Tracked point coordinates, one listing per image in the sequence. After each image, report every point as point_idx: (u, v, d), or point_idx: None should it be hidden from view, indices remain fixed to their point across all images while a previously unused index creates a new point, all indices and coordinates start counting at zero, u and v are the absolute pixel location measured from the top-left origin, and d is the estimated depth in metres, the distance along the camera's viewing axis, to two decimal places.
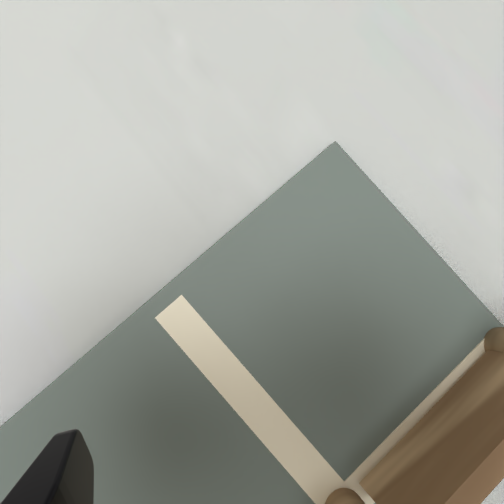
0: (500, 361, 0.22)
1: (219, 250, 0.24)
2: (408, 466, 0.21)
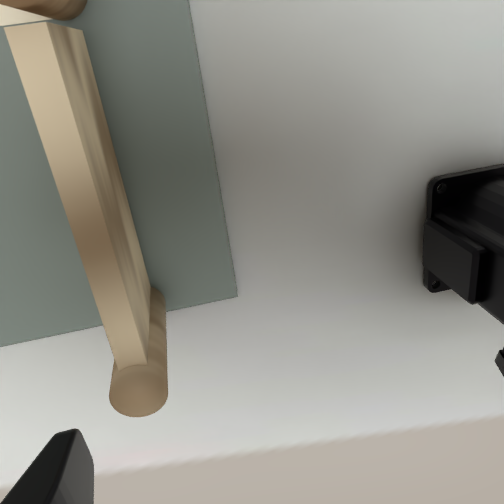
0: None
1: None
2: None
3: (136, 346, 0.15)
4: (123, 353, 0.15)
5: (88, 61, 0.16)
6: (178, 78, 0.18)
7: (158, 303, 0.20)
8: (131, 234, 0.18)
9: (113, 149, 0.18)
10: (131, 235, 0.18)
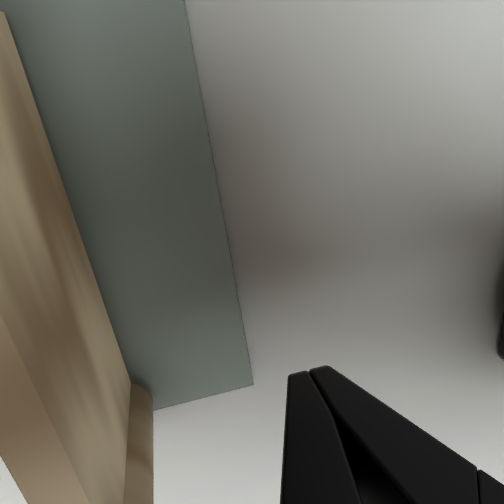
0: None
1: None
2: None
3: None
4: None
5: (14, 63, 0.10)
6: (164, 87, 0.11)
7: (142, 414, 0.14)
8: (96, 326, 0.12)
9: (66, 197, 0.12)
10: (96, 328, 0.12)
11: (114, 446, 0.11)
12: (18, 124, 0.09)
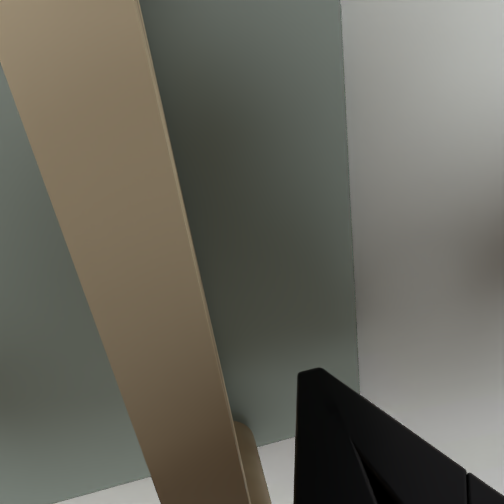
0: None
1: None
2: None
3: None
4: None
5: None
6: (304, 78, 0.10)
7: (253, 459, 0.12)
8: None
9: None
10: (220, 365, 0.10)
11: None
12: (165, 123, 0.07)
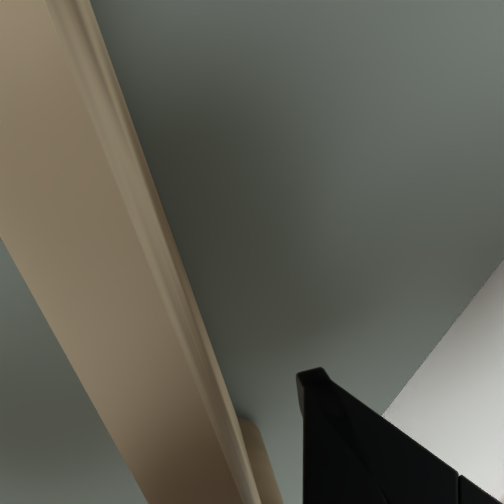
0: None
1: None
2: None
3: None
4: None
5: (107, 55, 0.08)
6: None
7: (260, 454, 0.12)
8: (215, 364, 0.10)
9: (165, 215, 0.10)
10: (215, 366, 0.10)
11: None
12: (129, 130, 0.07)
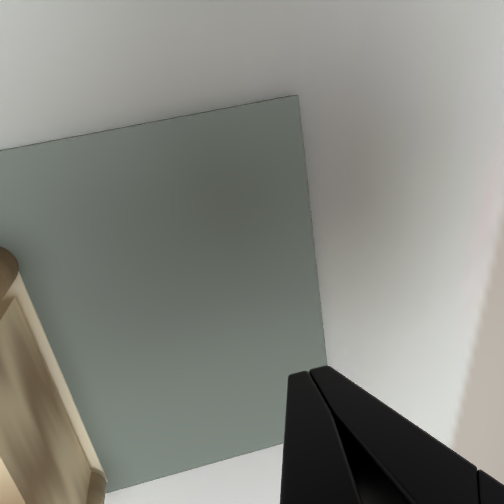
0: None
1: None
2: None
3: None
4: None
5: (20, 323, 0.19)
6: (48, 166, 0.18)
7: (96, 493, 0.23)
8: (65, 449, 0.21)
9: (48, 377, 0.21)
10: (65, 450, 0.21)
11: None
12: (21, 362, 0.18)
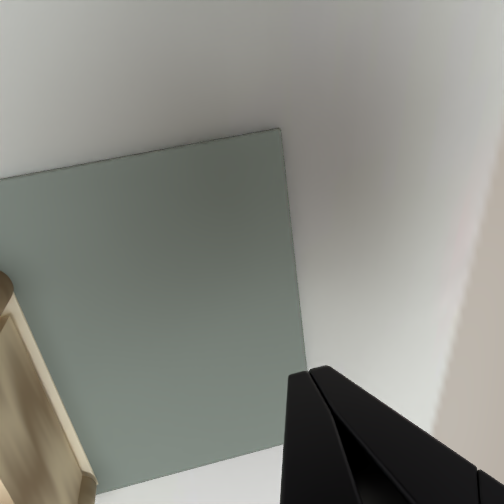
0: None
1: None
2: None
3: None
4: None
5: (14, 341, 0.20)
6: (41, 195, 0.19)
7: (87, 496, 0.24)
8: (57, 456, 0.22)
9: (41, 389, 0.22)
10: (57, 457, 0.22)
11: None
12: (16, 379, 0.19)
